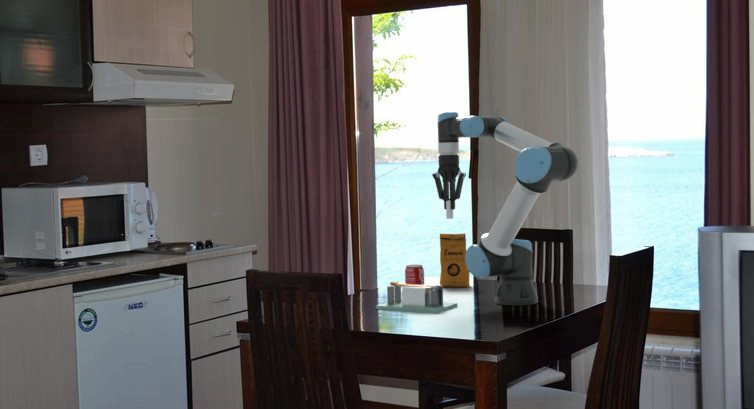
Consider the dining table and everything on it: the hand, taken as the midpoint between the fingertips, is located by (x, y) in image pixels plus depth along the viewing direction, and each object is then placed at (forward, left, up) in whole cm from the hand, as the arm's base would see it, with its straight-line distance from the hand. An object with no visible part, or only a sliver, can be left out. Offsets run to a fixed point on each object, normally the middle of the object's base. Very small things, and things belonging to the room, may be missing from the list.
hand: (449, 218), depth 342 cm
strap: (+5, +20, -23) cm, 31 cm away
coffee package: (+15, -35, -31) cm, 49 cm away
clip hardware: (+4, +20, -30) cm, 37 cm away
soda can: (+13, +4, -31) cm, 33 cm away
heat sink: (+3, +20, -29) cm, 36 cm away
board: (+4, +20, -30) cm, 37 cm away
